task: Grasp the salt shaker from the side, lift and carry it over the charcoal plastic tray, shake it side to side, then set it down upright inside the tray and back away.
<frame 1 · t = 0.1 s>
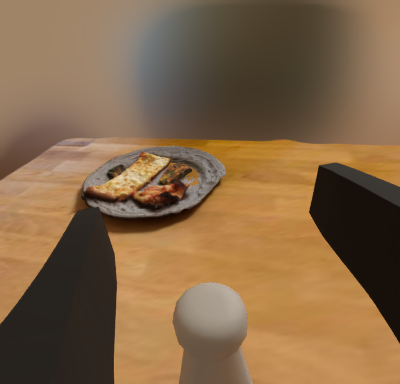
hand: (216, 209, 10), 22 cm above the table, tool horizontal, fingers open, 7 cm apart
food plate: (155, 185, 55), on the table
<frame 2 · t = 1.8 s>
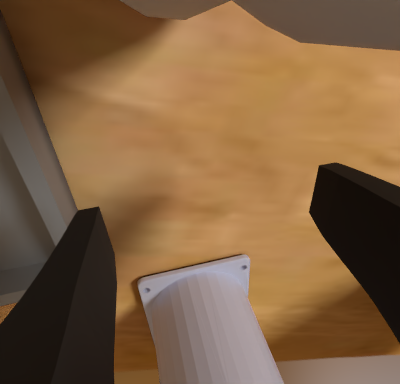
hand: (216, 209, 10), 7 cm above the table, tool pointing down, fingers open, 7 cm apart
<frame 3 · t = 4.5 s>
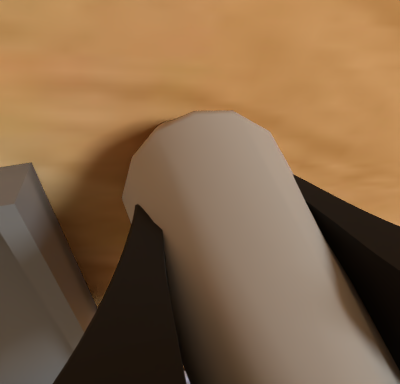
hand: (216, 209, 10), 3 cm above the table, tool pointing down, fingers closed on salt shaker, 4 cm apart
salt shaker: (192, 156, 13), on the table, touching gripper
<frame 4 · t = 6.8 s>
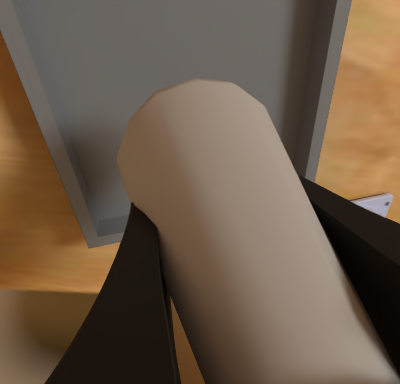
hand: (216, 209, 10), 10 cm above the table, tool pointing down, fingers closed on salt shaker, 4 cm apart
tray: (189, 100, 18), on the table
salt shaker: (186, 128, 13), point 6 cm above the table, touching gripper
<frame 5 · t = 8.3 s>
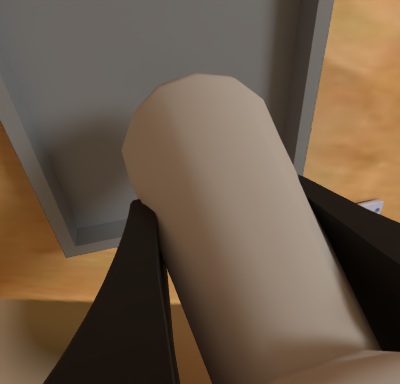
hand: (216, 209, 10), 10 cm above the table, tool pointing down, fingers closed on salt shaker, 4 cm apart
tray: (169, 105, 18), on the table
salt shaker: (188, 122, 13), point 5 cm above the table, touching gripper
when the fingers open (5 cm above the table, at t = 9.4 s): salt shaker stays where it is, resting on tray.
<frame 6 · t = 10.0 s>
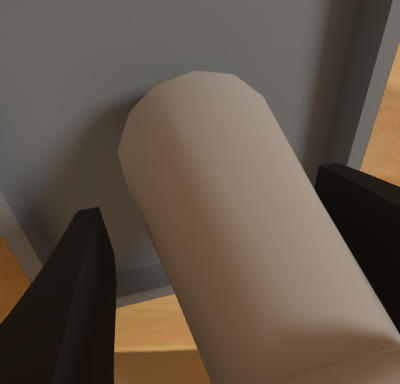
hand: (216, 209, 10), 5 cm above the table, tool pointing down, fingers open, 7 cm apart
tray: (184, 138, 14), on the table
salt shaker: (187, 126, 13), point 1 cm above the table, touching tray
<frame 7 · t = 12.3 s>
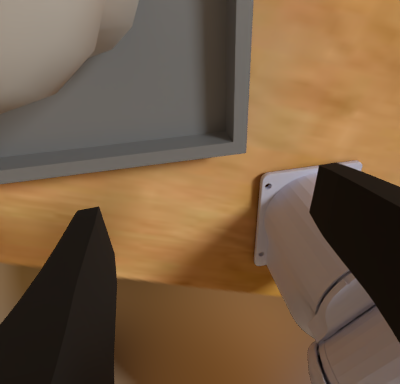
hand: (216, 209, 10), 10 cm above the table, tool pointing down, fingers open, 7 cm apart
tray: (78, 1, 15), on the table
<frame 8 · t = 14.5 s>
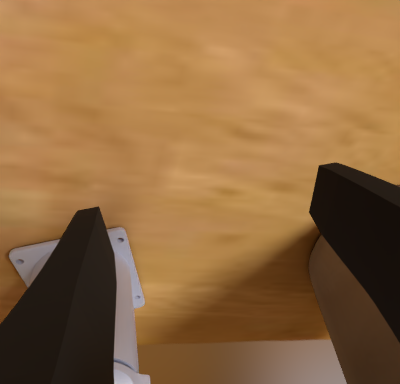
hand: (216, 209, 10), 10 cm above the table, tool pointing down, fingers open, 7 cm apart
plant pot: (371, 239, 32), on the table
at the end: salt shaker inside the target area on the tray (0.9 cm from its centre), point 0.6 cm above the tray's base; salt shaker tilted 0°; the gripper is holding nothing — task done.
